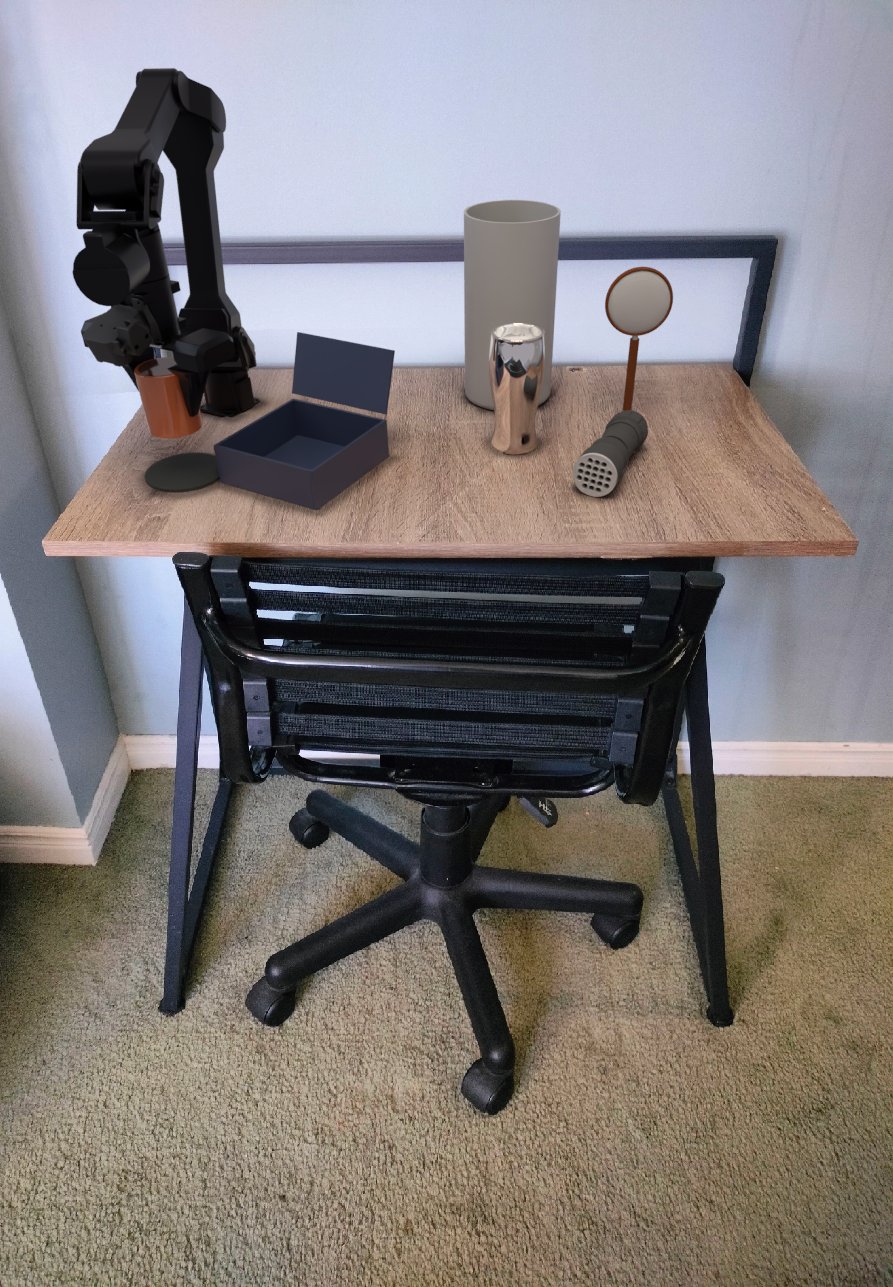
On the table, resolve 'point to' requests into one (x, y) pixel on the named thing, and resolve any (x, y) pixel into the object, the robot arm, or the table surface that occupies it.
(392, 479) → the table surface
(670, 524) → the table surface
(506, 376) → the beer glass
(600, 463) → the flashlight
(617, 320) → the magnifying glass
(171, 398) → the cup
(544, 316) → the cylinder vase
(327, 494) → the carton
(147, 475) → the disc
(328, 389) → the flap
